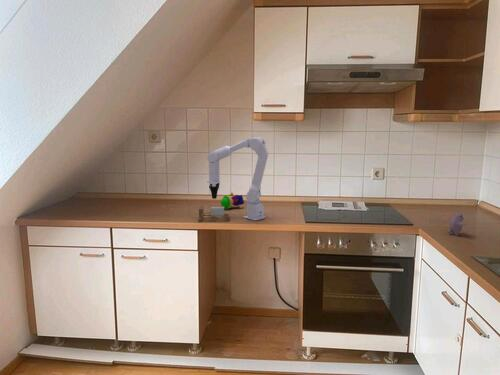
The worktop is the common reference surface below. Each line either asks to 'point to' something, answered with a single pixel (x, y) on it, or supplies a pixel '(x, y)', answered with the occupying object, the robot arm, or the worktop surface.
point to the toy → (232, 201)
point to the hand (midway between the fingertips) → (214, 197)
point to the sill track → (210, 218)
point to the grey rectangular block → (217, 211)
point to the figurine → (456, 224)
